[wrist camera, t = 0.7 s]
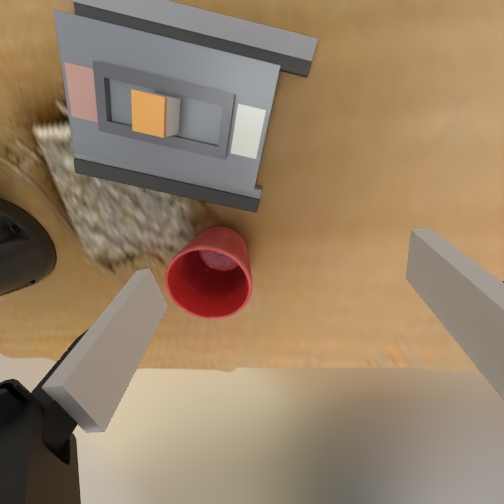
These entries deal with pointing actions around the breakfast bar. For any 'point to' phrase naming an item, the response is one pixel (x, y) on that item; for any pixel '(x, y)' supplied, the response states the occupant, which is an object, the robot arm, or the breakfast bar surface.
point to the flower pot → (211, 274)
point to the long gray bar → (167, 183)
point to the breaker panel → (171, 84)
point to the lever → (155, 113)
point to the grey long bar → (206, 30)
